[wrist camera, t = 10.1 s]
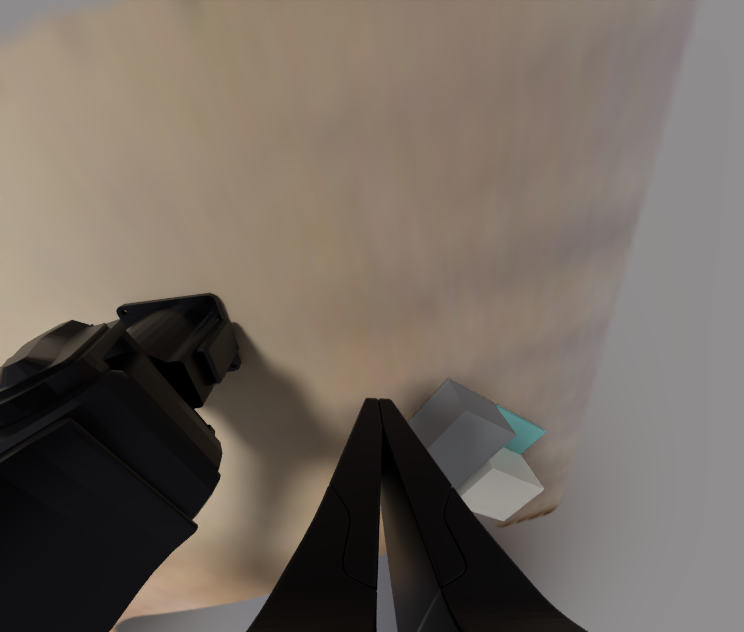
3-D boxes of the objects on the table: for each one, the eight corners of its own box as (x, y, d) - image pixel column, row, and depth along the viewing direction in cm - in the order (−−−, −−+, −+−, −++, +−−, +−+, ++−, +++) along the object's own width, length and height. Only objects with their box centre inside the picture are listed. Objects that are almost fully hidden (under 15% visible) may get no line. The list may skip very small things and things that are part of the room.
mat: (413, 485, 33) (414, 488, 33) (496, 404, 29) (498, 407, 29) (461, 500, 36) (463, 504, 36) (543, 429, 32) (546, 432, 31)
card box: (451, 504, 28) (503, 521, 31) (493, 468, 26) (544, 489, 29) (437, 467, 32) (485, 485, 34) (473, 433, 30) (521, 455, 33)
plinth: (364, 468, 31) (369, 507, 27) (447, 378, 26) (465, 409, 23) (410, 484, 33) (420, 521, 29) (493, 402, 29) (516, 434, 25)
